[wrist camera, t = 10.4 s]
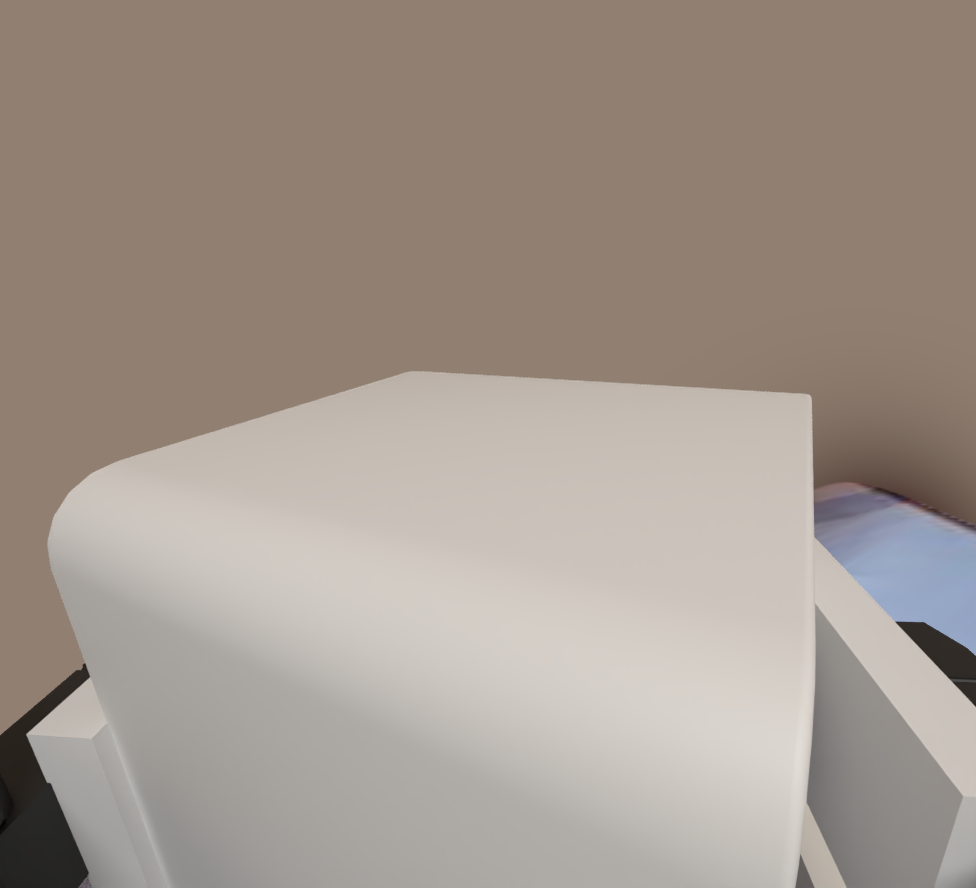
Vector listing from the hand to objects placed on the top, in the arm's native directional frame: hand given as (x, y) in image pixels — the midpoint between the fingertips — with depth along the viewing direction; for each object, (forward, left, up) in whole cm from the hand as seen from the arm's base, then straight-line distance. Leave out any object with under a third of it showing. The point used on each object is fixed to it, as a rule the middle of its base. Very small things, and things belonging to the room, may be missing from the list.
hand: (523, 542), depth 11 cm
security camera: (0, -5, -6) cm, 8 cm away
